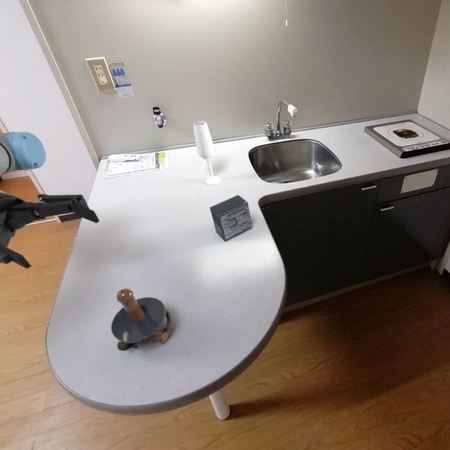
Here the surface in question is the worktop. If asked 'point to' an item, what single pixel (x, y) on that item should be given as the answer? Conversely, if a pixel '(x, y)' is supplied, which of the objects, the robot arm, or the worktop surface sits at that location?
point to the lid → (137, 317)
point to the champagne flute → (205, 148)
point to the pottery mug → (156, 335)
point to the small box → (231, 217)
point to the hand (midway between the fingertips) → (63, 237)
